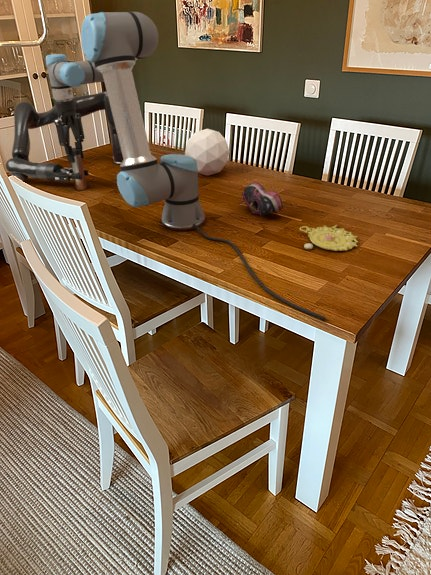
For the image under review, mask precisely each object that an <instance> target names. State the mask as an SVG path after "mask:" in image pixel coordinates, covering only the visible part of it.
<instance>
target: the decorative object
mask: <svg viewBox="0 0 431 575" xmlns="http://www.w3.org/2000/svg"><path fill="white" fill-rule="evenodd" d="M303 228H304V229H305V230H304V229H303ZM299 231H300V232H303V233H305V234H307V237H308V238H309V240H310V241H311V243H304V244H303V248H304V249H305V250H313V249H314V245H315V246H316V247H318V248H321V249H324V250H328V251H335V252H341V251H348V250H352V249H354V247H356V248H358V247H359V245H358V244H357V243H359V240H357V238H359V237H358V235H353V234H352V231H347V230H346V229H345V228H344V227H342V228H338V224H335V225H333V226H331V227H328V226H327V225H326V224H325V225H323V226H322V227H321V226H317V227H316V228H314V227H309V226H308V225H302V226H300V227H299ZM313 244H314V245H313Z"/></svg>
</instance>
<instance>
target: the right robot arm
mask: <svg viewBox="0 0 431 575" xmlns="http://www.w3.org/2000/svg"><path fill="white" fill-rule="evenodd" d="M80 40H81V42H80V43H81V49H82V52H83V55H84V57H85V59H86V60H77V61H68V58H67V56H66V54H63V53H53V54H52V53H51V54H48V55H46V56H45V64H46V65H45V66H46V69H47V73H48V78H49V83H50V87H51V93H52V96H53V100H55V101H54V105H55V107H56V111H57V112H58V113H59V116H58V117H59V118H58V119H57V120H54V123H53V124H54V125H55V129H56V134H57V139H58V144H59V146H60V147H64V152H65V155H66V158H67V162H68V163H70V164H71V163H74V162H75V161H74V156H73V151H72V148H73V147H72V145H71V142H70V141H71V136H70V129H71V132H72V135H73V137H74V140H75V141H74V148H80V149H81V158H82V160H84V158H85V157H84V151H83V143H84V141H85V138H86V136H85V132H84V128H83V122H82V117H81V114H77V113H76V112H75V110H76V105H75V100H73V98H74V97H75V96H74V91H73V88H77V87H80V86H82V85H88V84H95V83H104V86H105V91H107V95H108V99H109V103H110V107H111V111H112V115H113V119H114V123H115V127H116V131H117V135H118V139H119V143H120V147H121V151H122V155H123V161H122V163H121V164H119V167H120V171H119V173H117V175H116V185H117V188H118V191H119V192H120V196H121V197H122V198H123V200H124V201H125V202H126V203H127V204H128V205H129V206H130V207H132V208H141V207H147V206H149V205H151V204H156V203H159V202H162V201H164V204H163V209H162V213H161V219H160V220H161V225H162V227H163V228H165V229H167V230H170V231H175V232H176V231H177V232H185V231H186V232H187V231H192V230H195V229H196V230H197V231H198V232H199V233H200V234H201V235H202V236H203V237H204V238H207V239H209V240H212V241H218V242H224V243H227V244H229V245H231V246H232V247H233V249H234V250H235V251H236V254H237V255H238V256H239V258H240V259H241V261H242V262H243V264H244V266H245V267H246V269H247V271H248V272H249V273H250V275H251V276H252V279H254V280H255V281H256V282H257V284H258V285H259V286H260V287H261V288H262V289H264V291H265V292H267V293H269V294H270V295H272V296H273V297H274V298H276V299H277V300H279V301H281V302H283V303H285V304H287V305H289V306H291V307H293V308H294V309H297V310H299V311H300V312H303V313H306V314H308V315H311V316H314V317H316V318H319V319H322V320H323V321H324V320H326V316H324V315H321V314H319V313H317V312H314V311H311V310H309V309H306V308H304V307H301V306H300V305H297V304H296V303H292V302H291V301H288V300H287V299H285V298H283V297H281V296H280V295H278V294H276V293H275V292H273V290H271V289H270V288H268V287H267V286H266V285H265V284H264V283H263V282H262V281H261V280H260V279H259V278H258V277H257V276H256V274H255V273H254V271H253V270H252V269H251V267H250V266H249V264H248V262H247V261H246V259H245V258H244V256H243V254H242V253H241V252H240V251H239V250H240V249H239V248H238V247H237V246H236V244H235V243H233V242H232V241H230V240H228V239H224V238H218V237H212V236H209V235H208V234H206V233H205V232H204V231H203V230H202V229H201V227H202V226H203V225H204V224H205V223H206V215H205V212H204V210H203V208H202V204H201V202H200V196H199V176H198V174H199V173H197V172H198V170H197V163H196V160H195V159H194V158H192V157H190V156H186V155H185V154H178V153H177V154H175V153H171V154H165V155H162V156H161V157H160V162H158V158H157V157H156V156H154V155H153V154H152V153H151V149H150V144H149V139H148V135H147V132H146V127H145V122H144V118H143V113H142V110H141V105H140V101H139V95H138V92H137V87H136V82H135V79H134V74H133V69H134V66H135V65H136V61H137V60H144V59H146V58H149V57H150V56H151V55H152V54H154V52H155V51H156V50H157V48H158V44H159V32H158V28H157V25H156V24H155V23H154V21H153V20H152V19H151V18H150V17H149V16H147V15H146V14H144V13H142V12H139V11H115V12H114V11H113V12H112V11H111V12H109V11H108V12H104V11H100V12H97V13H96V12H95V13H89V14H87V15H86V16H85V18H83V21H82V24H81V30H80Z"/></svg>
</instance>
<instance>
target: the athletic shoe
mask: <svg viewBox="0 0 431 575" xmlns="http://www.w3.org/2000/svg"><path fill="white" fill-rule="evenodd" d="M241 197H242V199H243V201H238V203H239V204H241V205H245V206H246V207H247V208H248V210H249V211H250V210H251V213H252V214H255V215H260V217H266V216H267V215H270V214H274V213H275V212H279V211H282V210H283V209H284V205H283V201H282V198H281V196H280V195H279V194H278V192H277V191H274V190H269V191H267V190H266V189H265V187H264V186H263V185H262V184H261V183H258V182H251V183H249V184H247V186H246V187H245V188H244V190H243V191H242V192H241Z"/></svg>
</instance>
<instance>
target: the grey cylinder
mask: <svg viewBox="0 0 431 575" xmlns="http://www.w3.org/2000/svg"><path fill="white" fill-rule="evenodd" d="M74 161H75V162H74V163H71V162H70V165H71V166H72V171H73V173H74V174H81V175H82V179H81V180H77V179H73V180H74V185H75V189H76V190H77V191H84V190H87V189H88V185H87V180H86V176H85V174H84V170H85V168H84V164H83V159H82V158H81V154H80V155H74ZM71 166H70V167H71Z"/></svg>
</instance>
